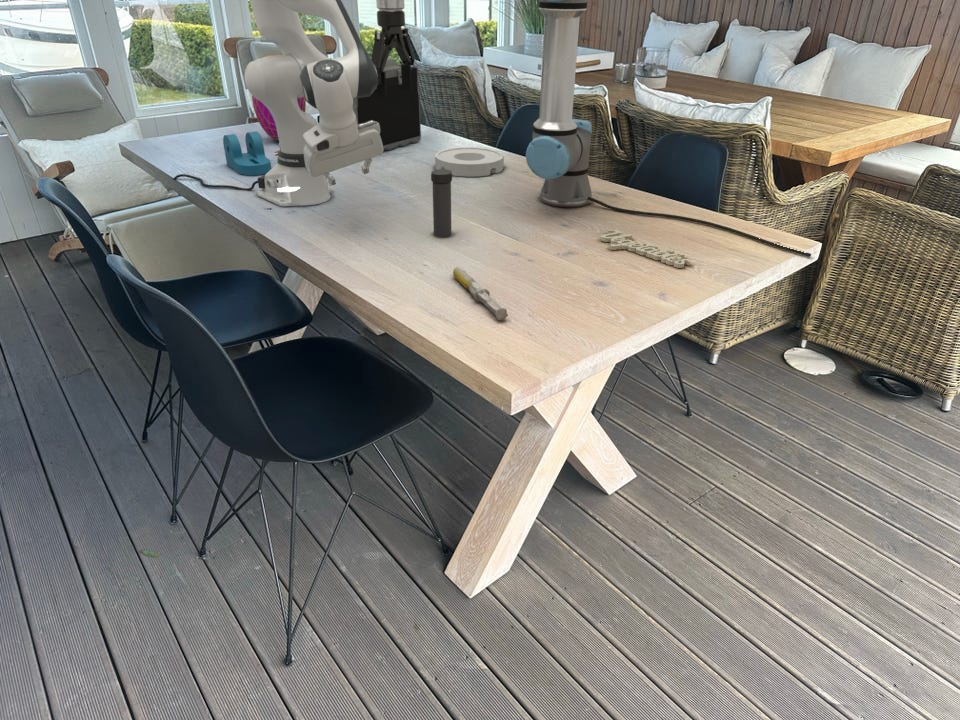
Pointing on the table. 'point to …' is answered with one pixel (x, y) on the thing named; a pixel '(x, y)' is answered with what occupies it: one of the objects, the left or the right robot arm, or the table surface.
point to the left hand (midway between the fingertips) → (349, 178)
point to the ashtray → (469, 161)
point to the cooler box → (393, 109)
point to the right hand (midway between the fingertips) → (394, 93)
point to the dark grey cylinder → (442, 209)
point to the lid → (441, 176)
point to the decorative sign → (644, 249)
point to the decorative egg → (267, 118)
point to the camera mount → (246, 154)
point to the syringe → (479, 293)
